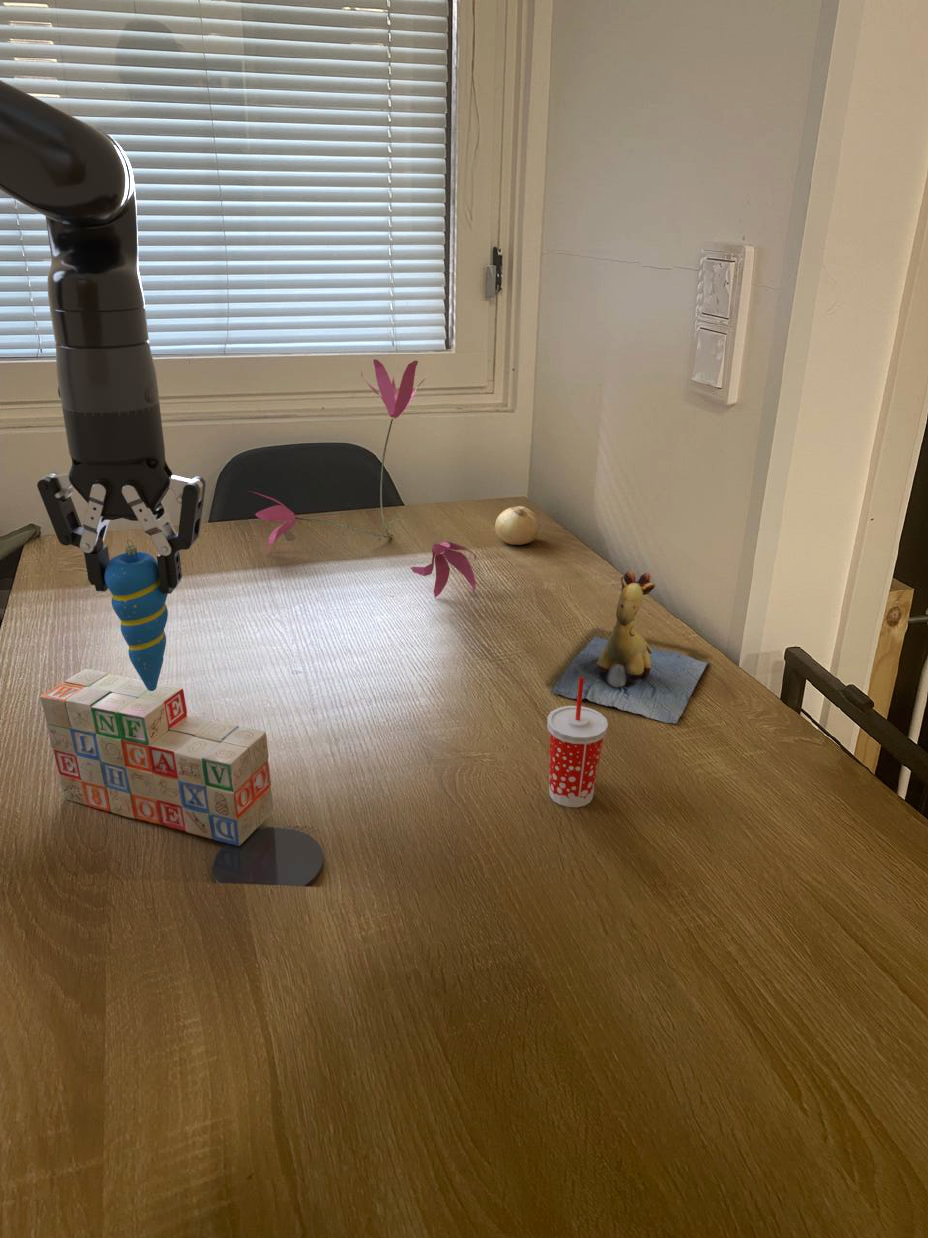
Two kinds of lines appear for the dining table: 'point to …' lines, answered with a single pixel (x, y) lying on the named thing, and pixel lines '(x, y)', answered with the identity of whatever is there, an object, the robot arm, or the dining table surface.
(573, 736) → the beverage cup
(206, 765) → the stack of blocks
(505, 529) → the onion
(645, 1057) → the dining table surface
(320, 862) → the slate coaster
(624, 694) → the stuffed giraffe
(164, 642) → the ornament
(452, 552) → the decorative plant
